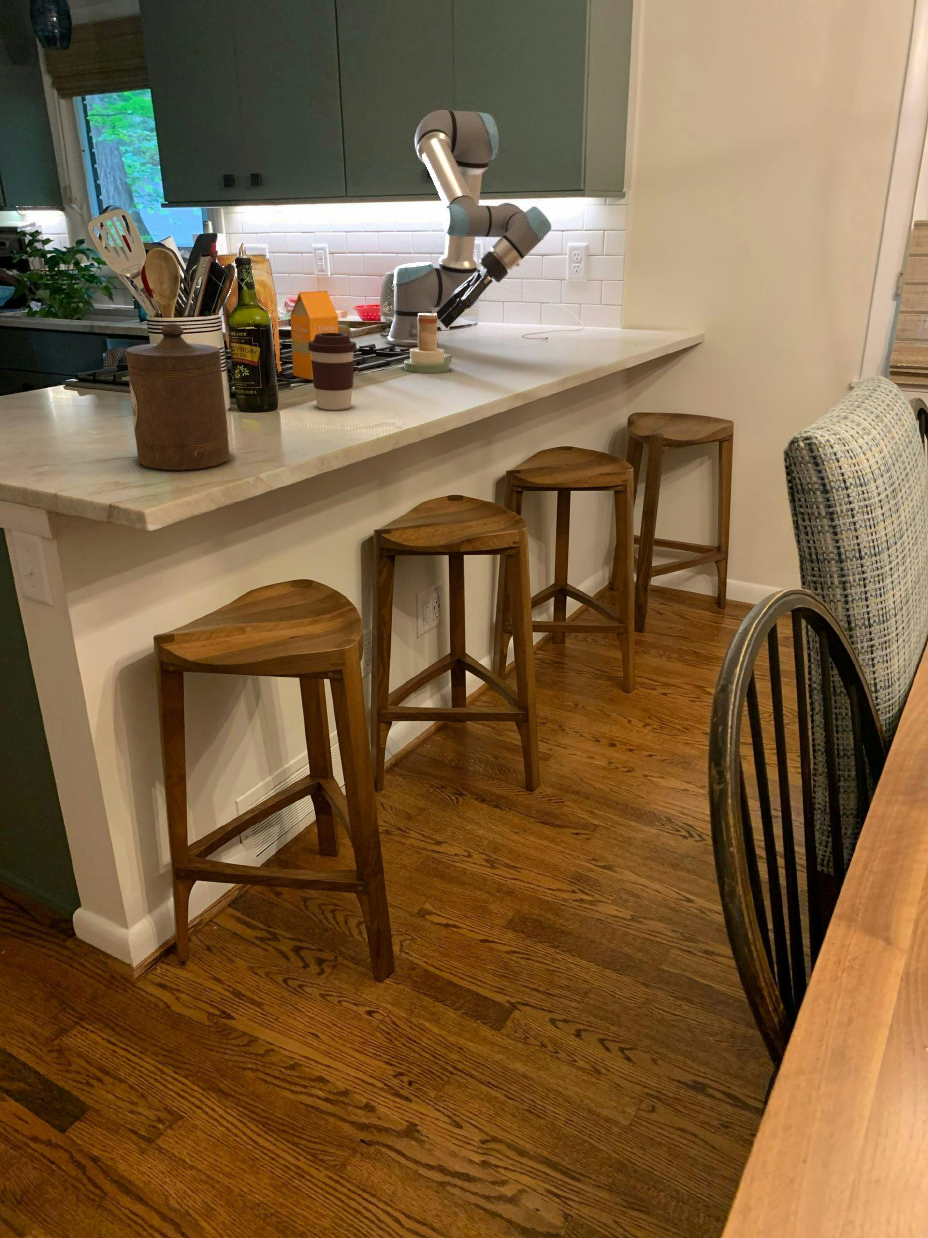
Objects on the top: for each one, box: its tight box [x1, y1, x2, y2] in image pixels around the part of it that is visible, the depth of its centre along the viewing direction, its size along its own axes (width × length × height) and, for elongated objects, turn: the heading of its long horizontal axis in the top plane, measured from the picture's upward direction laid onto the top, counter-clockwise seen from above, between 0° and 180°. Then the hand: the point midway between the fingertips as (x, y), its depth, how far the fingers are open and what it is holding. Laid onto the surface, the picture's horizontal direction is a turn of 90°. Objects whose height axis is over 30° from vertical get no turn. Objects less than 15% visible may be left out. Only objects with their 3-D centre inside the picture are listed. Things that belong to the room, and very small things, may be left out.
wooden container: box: [126, 322, 230, 471], centre depth 153 cm, size 15×15×22 cm
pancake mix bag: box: [217, 253, 282, 374], centre depth 226 cm, size 7×19×28 cm, turn 141°
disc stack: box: [403, 347, 451, 374], centre depth 246 cm, size 12×12×5 cm
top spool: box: [417, 312, 439, 351], centre depth 243 cm, size 5×5×9 cm
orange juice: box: [290, 290, 339, 381], centre depth 229 cm, size 8×9×20 cm
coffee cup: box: [308, 333, 357, 411], centre depth 197 cm, size 10×10×15 cm
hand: (439, 321), depth 243 cm, fingers open, 13 cm apart
